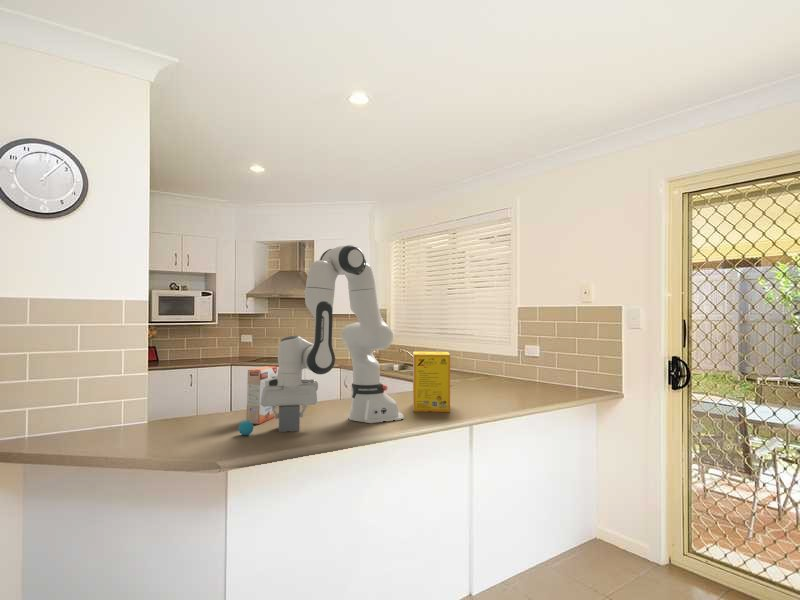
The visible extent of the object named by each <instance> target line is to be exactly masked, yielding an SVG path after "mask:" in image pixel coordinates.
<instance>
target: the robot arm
mask: <svg viewBox="0 0 800 600" xmlns="http://www.w3.org/2000/svg"><path fill="white" fill-rule="evenodd" d="M340 275H341V276H343V275H345V277H346V280H347V285H348V287H347V288H348V297H349V298H348V299H349V307H350V310H351V311H352V313H353V314H355V316H356V319H357V320H358V322H353V323H350V324H347V325H345V326H344V327H343V329H342V332H341V339H342V342H343V344H344V345H345V346H346V347H347V350H348V352H349V355H350V357H351V362H352V363H351V364H352V383H351V391H350V392H351V394H350V395H351V403H350V404H351V406H350V410H349V415H348V420H349V421H354V422H362V423H367V424H375V423H383V421H386V422H392V421H393V420H395V421H402V420H401V419H403V420H404V418H405V416H404V414H403V413H402V412H400V411H399V406H398V404H397V402H396V400H395V399H393V398H392V397H391V396H390V395H388V394H387V393H386V392H385V391H387V390H388V386H387V385H386V384H383V383H381V365H380V362H379V361H378V360H377V359H376V357H375V355H374V352H373V351H380V350H382V351H383V350H386V349H388V348H389V347H390V346H391V345H392V343H393V341H394V340H393V339H394V333H393V331H392V328H391V327H390V326H389V325H388V324H387V323H386V322H385V320H384V318H383V317H382V314H381V311H380V309H379V305H378V299H377V289H376V282H375V276H374V272H373V269H372V267H371V265H370V264H369V263H367V260H366V257H365V254H364V252H363V251H362V250H361V248H359V246H356V245H353V244H352V245H351V244H348V245H341V246H336V247H334V248H329V249H327V250H325V251H324V252H323V253H322V254H321V256H320V258H319V260H315V261H313V262H312V263H311V264H310V266H309V268H308V274H307V276H306V282H305V291H304V300H305V302H304V303H305V306H306V308H307V309H308V311H309V312H310V313H311V314H312V316H313V320H314V331H313V332H314V333H313V343H312V342H310V341H308V340H306V339H304V338H303V337H301V336H300V335H290V336H285V337H283V338H282V339H280V342H279V345H278V349H277V351H278V352H277V363H278V367H277V376H274V377H270V378H267V379H266V380H265V385H266V386H265V387H264V388H263V391H262V396H261V405H262V406H263V407H269V406H272V410H273V412H274V414H275V417H274V419H279V412H277V410H276V411H275V409H277V407H279V406H295V405H299V406H301V408H302V409H301V411H300V418H304V413H305V411H306V409H307V406H315V405H316V404H317V403H318V393H317V391H318V390H319V389H318V388H319V382H318V381H317V380H314V379H303V370H304V369H307V370H308V371H311V372H312V373H314V374H316V375H325V374H327V373H329V372H330V371H331V370H332V369H333V368H334V366H335V363H336V355H335V352H334V349H333V311H334V298H335V290H336V280H337V277H339V276H340ZM393 422H394V421H393Z"/></svg>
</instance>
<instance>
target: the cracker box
mask: <svg viewBox="0 0 800 600" xmlns="http://www.w3.org/2000/svg"><path fill="white" fill-rule="evenodd" d="M277 375H278V367H277V366H269V365H268V366H267V365H265V366H259V367H257V368H256V367H255V368H250V369H247V383H246V384H247V386H246V387H247V388H246V389H247V390H246V391H247V392H246V418H245V421H250V422H251V423H252V424H253V425H261V424H262V423H264V422H265V423H266V422H267V421H269V420H272V419H275V414H274V412H273V410H272V406H269V407H263V406H262V405H261V396H262V391H263V388H264V387H265V386H266V385H265V380H266V379H267V378H270V377H274V376H277ZM276 409H277V408H276ZM276 409H275V411H276V412H277V410H276Z"/></svg>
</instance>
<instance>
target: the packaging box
mask: <svg viewBox="0 0 800 600" xmlns="http://www.w3.org/2000/svg"><path fill="white" fill-rule="evenodd" d="M412 355H413V356H412V357H413V358H412V359H413V360H412V364H413V365H412V366H413V367H412V370H413V372H412V378H413V379H412V411H413V412H428V411H432V412H431V413H433V412H435V413H436V412H437V413H438V412H439V413H440V412H443V413H446V412H448V413H451V354H450V353H449V351H413V354H412Z"/></svg>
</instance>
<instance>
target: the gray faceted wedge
mask: <svg viewBox="0 0 800 600" xmlns="http://www.w3.org/2000/svg"><path fill="white" fill-rule="evenodd" d="M300 406H301V405H295V406H278V413H279V418H278V433H286V431H290V432H300V420H301V419H300V418H301V417H300V412H301V411H300V410H301V409H300V408H301V407H300Z"/></svg>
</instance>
